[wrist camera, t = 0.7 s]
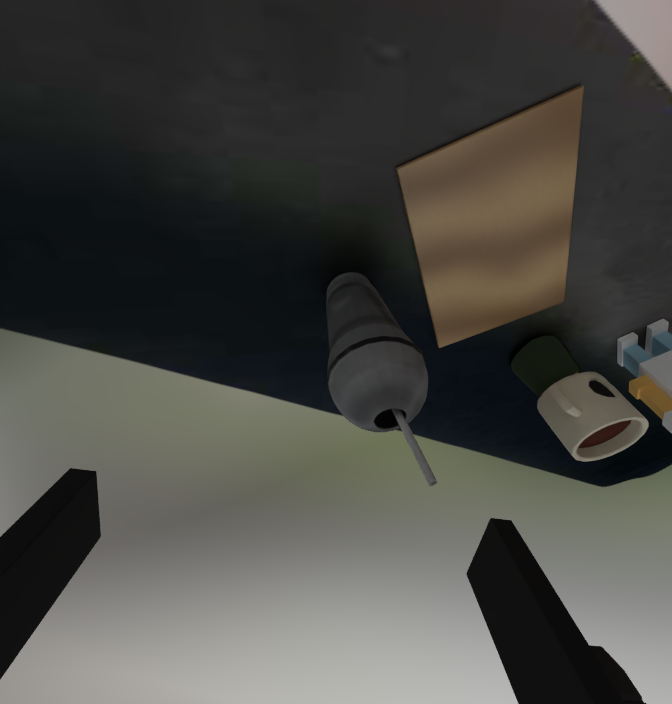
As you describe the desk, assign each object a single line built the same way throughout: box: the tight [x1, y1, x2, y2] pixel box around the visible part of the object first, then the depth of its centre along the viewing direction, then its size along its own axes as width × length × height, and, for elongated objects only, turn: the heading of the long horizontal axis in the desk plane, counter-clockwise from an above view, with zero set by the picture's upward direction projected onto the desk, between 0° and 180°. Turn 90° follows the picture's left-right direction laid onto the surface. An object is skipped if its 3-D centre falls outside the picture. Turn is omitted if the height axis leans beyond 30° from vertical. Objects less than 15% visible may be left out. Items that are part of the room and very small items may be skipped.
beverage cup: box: [326, 272, 437, 486], centre depth 26 cm, size 7×7×20 cm
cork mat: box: [396, 86, 584, 348], centre depth 32 cm, size 20×14×1 cm
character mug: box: [511, 336, 648, 461], centre depth 38 cm, size 11×7×13 cm, turn 55°
